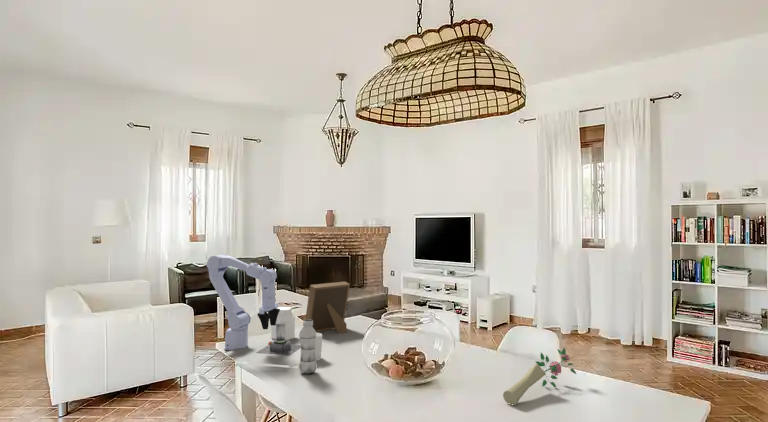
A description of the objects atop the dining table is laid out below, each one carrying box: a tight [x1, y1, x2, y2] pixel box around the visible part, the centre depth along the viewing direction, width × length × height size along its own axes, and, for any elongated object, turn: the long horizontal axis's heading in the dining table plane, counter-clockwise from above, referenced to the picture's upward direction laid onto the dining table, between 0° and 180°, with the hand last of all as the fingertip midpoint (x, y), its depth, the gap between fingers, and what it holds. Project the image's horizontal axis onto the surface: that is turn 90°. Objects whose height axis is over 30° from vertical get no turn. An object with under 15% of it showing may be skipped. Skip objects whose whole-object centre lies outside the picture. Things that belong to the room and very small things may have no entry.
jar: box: [270, 306, 296, 341], centre depth 237 cm, size 12×10×15 cm
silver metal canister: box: [275, 323, 285, 344], centre depth 215 cm, size 4×4×8 cm
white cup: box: [315, 332, 323, 361], centre depth 205 cm, size 8×8×10 cm
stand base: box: [255, 339, 301, 356], centre depth 215 cm, size 16×16×4 cm
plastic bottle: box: [298, 319, 318, 375], centre depth 186 cm, size 6×7×20 cm
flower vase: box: [502, 347, 577, 406], centre depth 166 cm, size 12×12×35 cm
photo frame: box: [304, 281, 351, 334], centre depth 252 cm, size 15×22×25 cm
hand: (269, 327), depth 217 cm, fingers open, 7 cm apart
